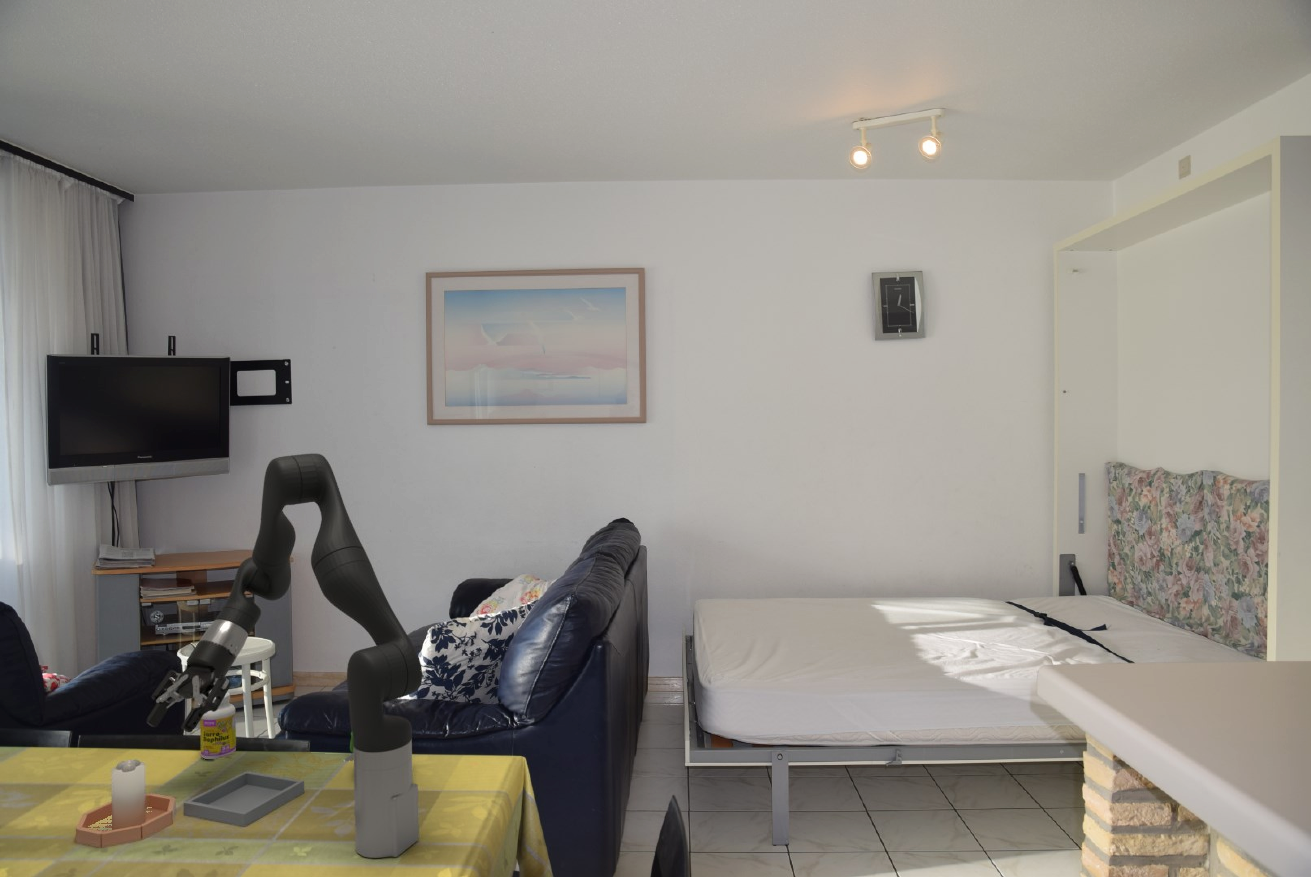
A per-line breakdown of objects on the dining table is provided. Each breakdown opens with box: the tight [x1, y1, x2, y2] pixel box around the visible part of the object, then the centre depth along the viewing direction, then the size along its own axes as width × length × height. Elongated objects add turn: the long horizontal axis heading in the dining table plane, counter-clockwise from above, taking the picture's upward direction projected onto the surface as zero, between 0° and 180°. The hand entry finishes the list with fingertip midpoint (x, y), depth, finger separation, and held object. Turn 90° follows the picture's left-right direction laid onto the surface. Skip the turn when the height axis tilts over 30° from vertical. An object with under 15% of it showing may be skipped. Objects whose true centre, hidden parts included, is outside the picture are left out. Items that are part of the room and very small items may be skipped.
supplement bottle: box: [199, 691, 237, 760], centre depth 177 cm, size 7×7×13 cm
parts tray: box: [183, 770, 305, 828], centre depth 152 cm, size 14×14×3 cm
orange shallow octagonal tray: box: [75, 792, 177, 849], centre depth 144 cm, size 14×14×3 cm
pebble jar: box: [110, 759, 147, 830], centre depth 144 cm, size 5×5×11 cm
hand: (168, 727), depth 152 cm, fingers open, 8 cm apart
